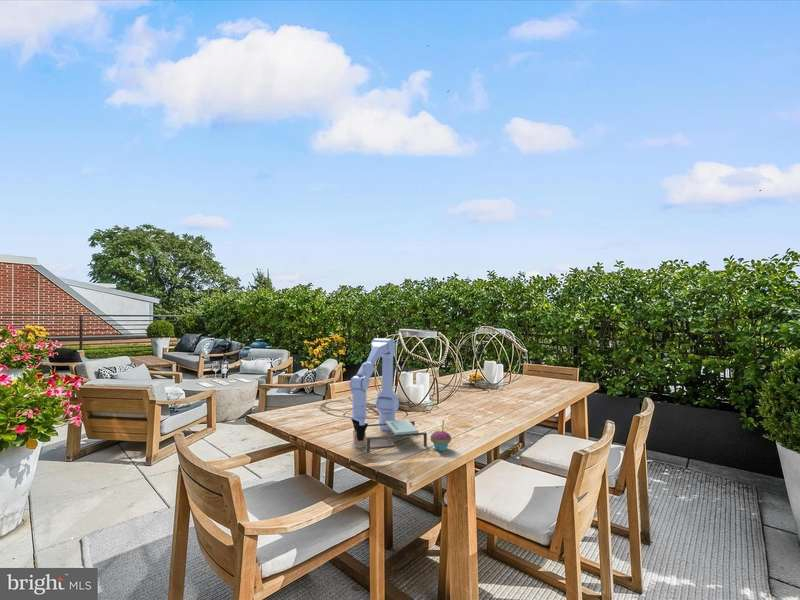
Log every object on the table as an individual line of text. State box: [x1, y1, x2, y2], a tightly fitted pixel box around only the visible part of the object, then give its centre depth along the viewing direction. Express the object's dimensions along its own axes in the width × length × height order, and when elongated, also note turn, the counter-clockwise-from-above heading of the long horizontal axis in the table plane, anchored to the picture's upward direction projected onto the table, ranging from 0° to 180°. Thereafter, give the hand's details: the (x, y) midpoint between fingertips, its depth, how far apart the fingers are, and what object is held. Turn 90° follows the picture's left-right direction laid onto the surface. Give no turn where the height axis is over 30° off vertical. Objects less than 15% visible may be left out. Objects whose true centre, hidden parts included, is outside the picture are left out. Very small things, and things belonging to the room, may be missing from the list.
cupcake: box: [430, 418, 452, 452], centre depth 159 cm, size 9×8×12 cm
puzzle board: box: [350, 420, 428, 452], centre depth 165 cm, size 18×30×6 cm, turn 105°
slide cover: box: [386, 418, 420, 435], centre depth 166 cm, size 17×10×1 cm, turn 15°
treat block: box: [352, 430, 367, 446], centre depth 162 cm, size 4×4×5 cm
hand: (359, 438), depth 162 cm, fingers open, 6 cm apart
